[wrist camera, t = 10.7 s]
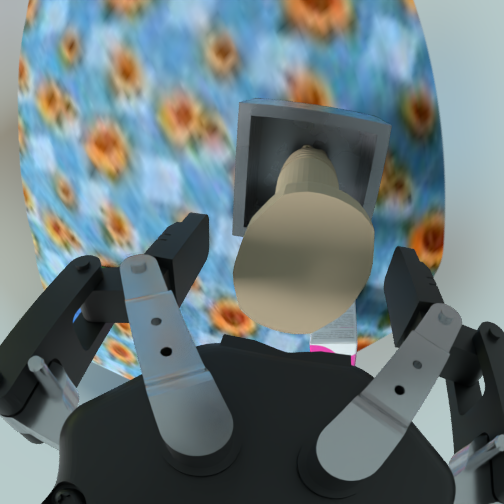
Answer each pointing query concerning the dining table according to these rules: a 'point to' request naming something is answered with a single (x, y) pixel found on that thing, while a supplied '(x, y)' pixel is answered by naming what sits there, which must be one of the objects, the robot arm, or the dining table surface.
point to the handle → (304, 249)
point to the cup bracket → (293, 138)
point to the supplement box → (338, 335)
